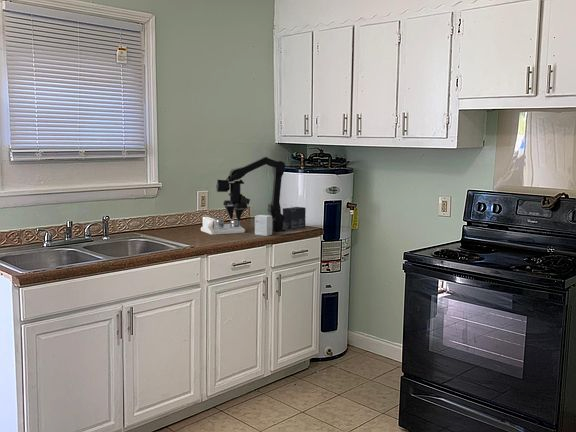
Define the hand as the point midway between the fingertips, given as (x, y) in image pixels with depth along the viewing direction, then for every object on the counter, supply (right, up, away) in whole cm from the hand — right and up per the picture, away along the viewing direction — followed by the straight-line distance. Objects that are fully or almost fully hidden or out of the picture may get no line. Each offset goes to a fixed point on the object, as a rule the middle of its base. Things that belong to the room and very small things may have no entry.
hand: (235, 219), depth 336 cm
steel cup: (0, -4, +1) cm, 4 cm away
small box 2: (+33, -5, +19) cm, 39 cm away
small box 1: (+16, -8, -7) cm, 19 cm away
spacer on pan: (-9, -3, +3) cm, 10 cm away
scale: (-8, -7, 0) cm, 10 cm away
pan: (-4, -4, +2) cm, 6 cm away
